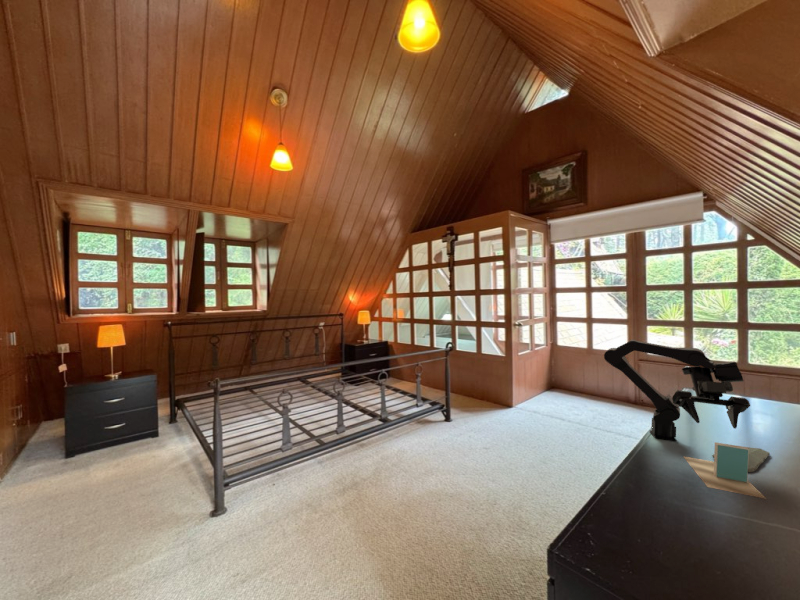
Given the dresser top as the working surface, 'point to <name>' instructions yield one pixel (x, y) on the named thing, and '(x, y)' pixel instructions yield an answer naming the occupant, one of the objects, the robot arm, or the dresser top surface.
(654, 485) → the dresser top surface
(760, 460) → the stone slab
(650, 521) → the dresser top surface
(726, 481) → the tan wooden board
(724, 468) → the glazed tile
